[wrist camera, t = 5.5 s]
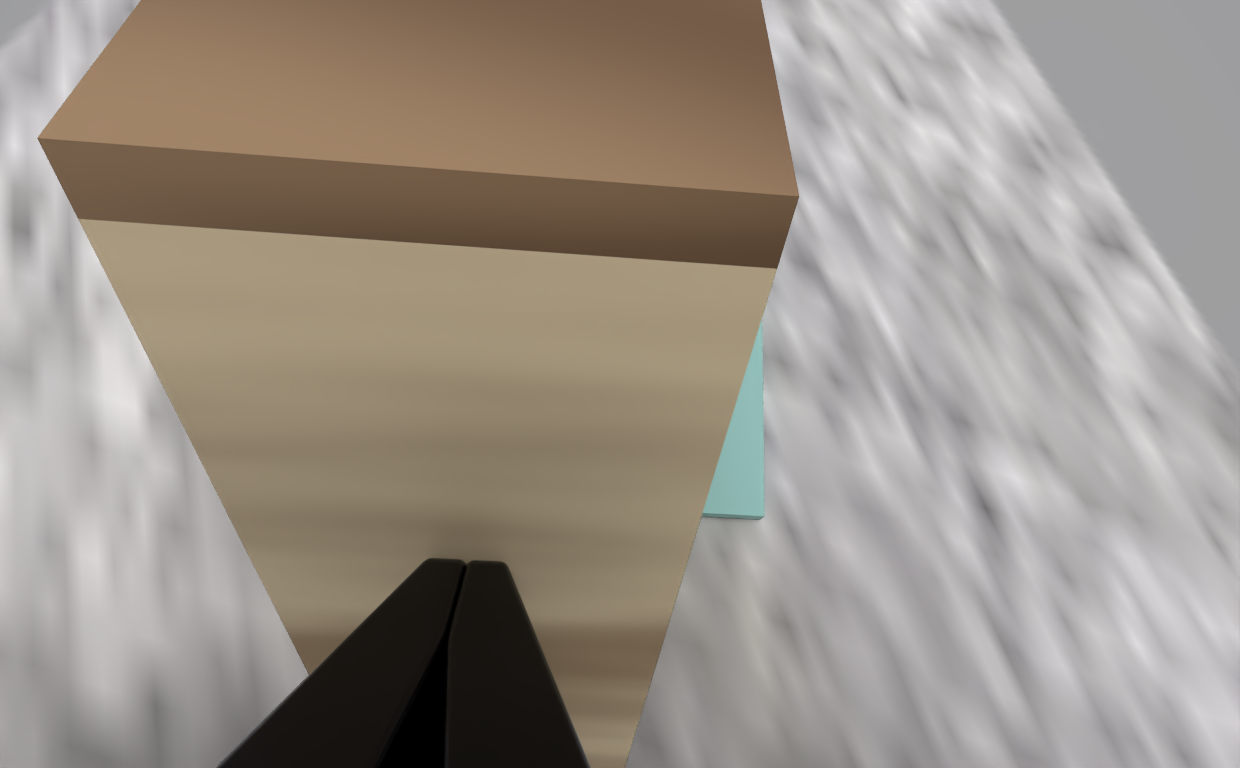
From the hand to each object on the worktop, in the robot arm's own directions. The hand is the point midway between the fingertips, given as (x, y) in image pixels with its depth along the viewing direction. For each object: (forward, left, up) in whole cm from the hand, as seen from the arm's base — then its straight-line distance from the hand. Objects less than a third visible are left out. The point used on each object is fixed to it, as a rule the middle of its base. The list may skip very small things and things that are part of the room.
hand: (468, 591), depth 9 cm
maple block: (0, 0, -7) cm, 7 cm away
